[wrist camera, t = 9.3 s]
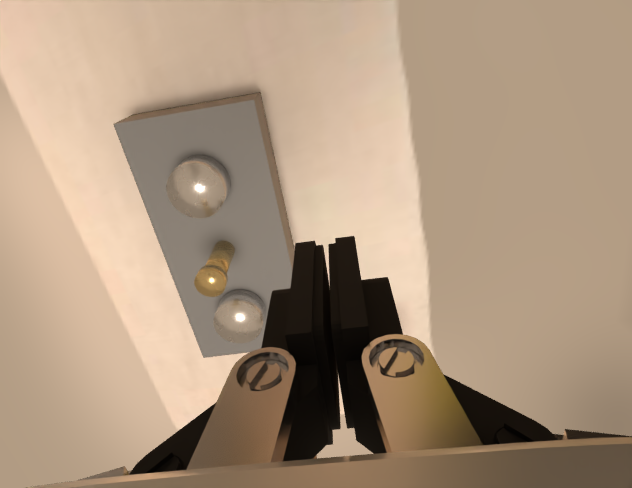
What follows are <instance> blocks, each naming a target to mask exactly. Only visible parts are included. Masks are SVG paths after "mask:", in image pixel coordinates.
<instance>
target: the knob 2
mask: <svg viewBox="0 0 632 488" xmlns="http://www.w3.org/2000/svg"><path fill="white" fill-rule="evenodd" d="M264 315H265V306H264V303H263V301H262V300H261V299H260V298H259V297H258V296H257V295H256V294H254V293H252V292H250V291H246V290H234V291H231V292H228V293H227V294H225V295H224V296H223V297H222V298H221V300H220V302H219V305H218V308H217V311H216V313H215V316H214V320H213V325H214V328H215V330H216V332H217V333H218V334H219V335H220V336H221V337H222V338H223V339H225V340H227V341H230V342H233V343H247V342H250V341H252V340H254V339H256V338H257V337H258V336H259V334H260V333H261V330H262V326H263V321H264Z"/></svg>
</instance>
